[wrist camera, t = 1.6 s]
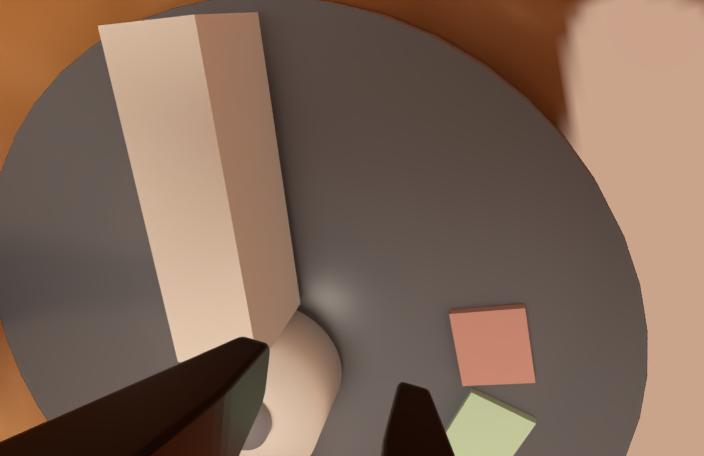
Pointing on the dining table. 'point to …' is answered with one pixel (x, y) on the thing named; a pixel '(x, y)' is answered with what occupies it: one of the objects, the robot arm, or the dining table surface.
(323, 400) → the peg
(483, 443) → the round gray plate
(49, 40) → the dining table surface
